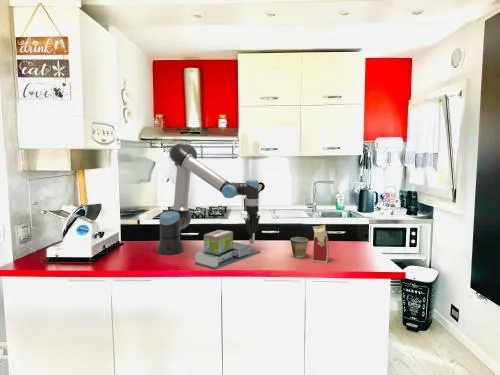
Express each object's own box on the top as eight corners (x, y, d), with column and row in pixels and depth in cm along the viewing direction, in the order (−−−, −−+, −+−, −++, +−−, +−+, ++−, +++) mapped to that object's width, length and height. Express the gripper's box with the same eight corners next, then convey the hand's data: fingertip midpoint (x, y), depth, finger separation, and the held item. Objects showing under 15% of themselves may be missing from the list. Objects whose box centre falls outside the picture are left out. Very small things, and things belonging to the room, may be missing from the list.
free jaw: (220, 252, 202) (220, 245, 202) (232, 249, 210) (232, 241, 210) (239, 257, 193) (239, 249, 193) (251, 253, 202) (251, 245, 201)
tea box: (219, 264, 183) (218, 236, 182) (203, 261, 188) (202, 234, 186) (233, 256, 196) (233, 230, 195) (218, 254, 201) (218, 229, 200)
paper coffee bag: (329, 258, 196) (330, 223, 194) (327, 263, 187) (328, 226, 186) (313, 256, 199) (313, 222, 197) (310, 261, 190) (310, 225, 188)
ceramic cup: (306, 259, 194) (306, 241, 193) (288, 258, 197) (288, 240, 196) (310, 253, 206) (310, 236, 205) (293, 251, 209) (293, 235, 208)
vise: (195, 263, 188) (194, 252, 187) (241, 248, 217) (240, 238, 217) (215, 269, 178) (215, 257, 178) (260, 252, 208) (260, 242, 207)
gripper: (250, 207, 204) (250, 246, 206) (263, 204, 214) (263, 242, 216) (240, 205, 209) (240, 244, 211) (254, 203, 219) (253, 240, 221)
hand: (252, 243), depth 214 cm, fingers closed
